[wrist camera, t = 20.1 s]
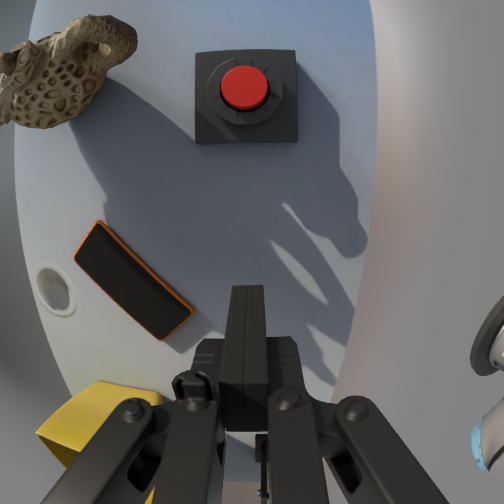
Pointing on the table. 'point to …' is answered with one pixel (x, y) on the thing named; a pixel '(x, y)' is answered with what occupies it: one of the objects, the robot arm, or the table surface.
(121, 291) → the smartphone
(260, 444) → the switch bracket
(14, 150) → the table surface
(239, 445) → the table surface
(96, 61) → the teapot
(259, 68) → the control block
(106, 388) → the flower pot
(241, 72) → the power button
